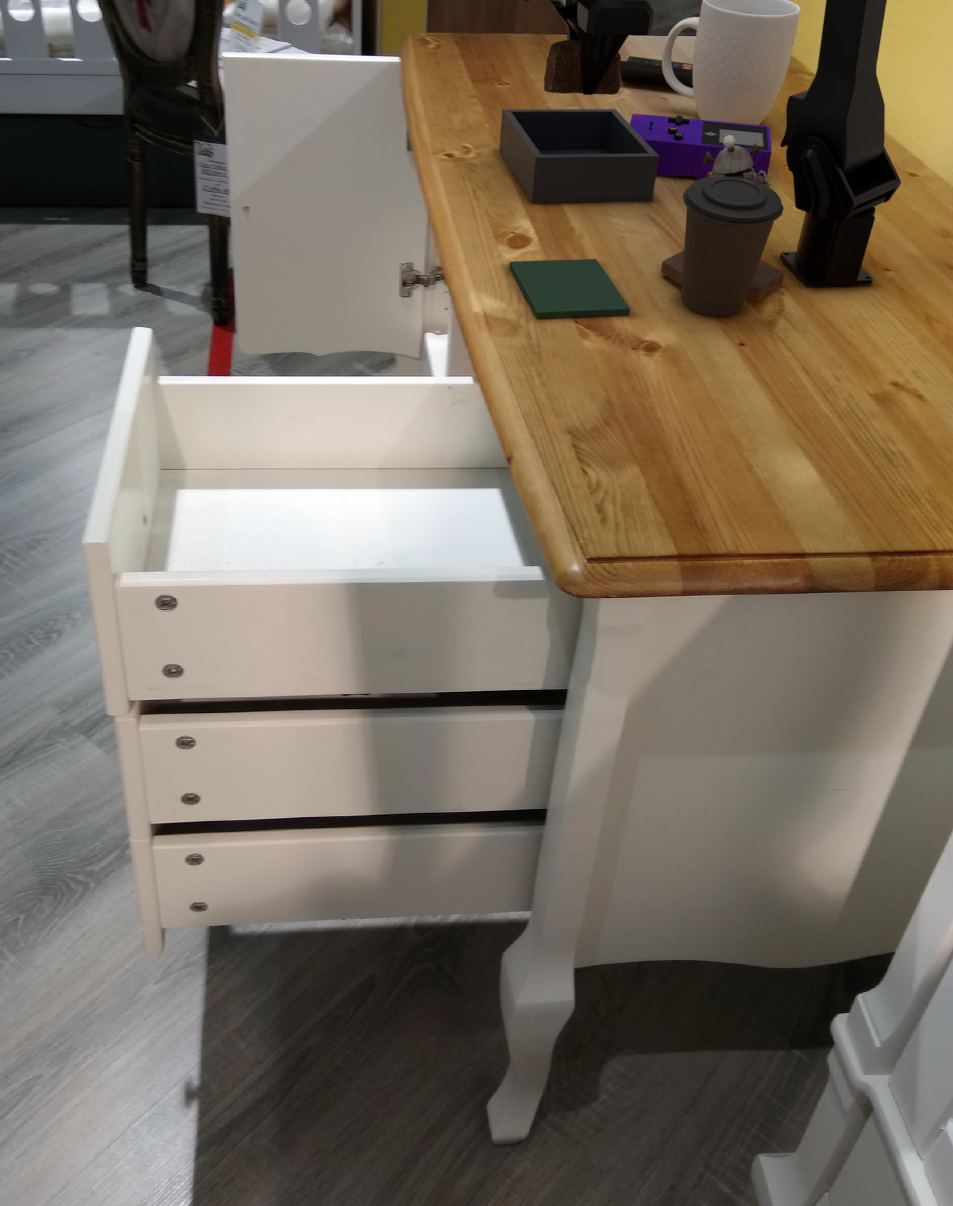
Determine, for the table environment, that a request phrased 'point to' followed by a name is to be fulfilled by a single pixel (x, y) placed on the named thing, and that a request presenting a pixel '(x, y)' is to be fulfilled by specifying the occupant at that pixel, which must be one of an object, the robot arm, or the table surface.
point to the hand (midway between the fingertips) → (582, 89)
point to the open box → (577, 155)
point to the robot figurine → (737, 165)
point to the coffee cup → (724, 241)
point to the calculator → (655, 70)
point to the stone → (575, 70)
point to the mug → (736, 57)
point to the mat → (568, 288)
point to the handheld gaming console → (698, 142)
